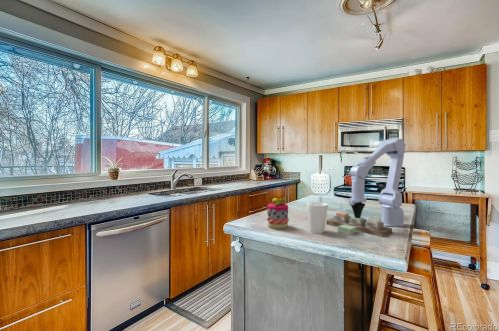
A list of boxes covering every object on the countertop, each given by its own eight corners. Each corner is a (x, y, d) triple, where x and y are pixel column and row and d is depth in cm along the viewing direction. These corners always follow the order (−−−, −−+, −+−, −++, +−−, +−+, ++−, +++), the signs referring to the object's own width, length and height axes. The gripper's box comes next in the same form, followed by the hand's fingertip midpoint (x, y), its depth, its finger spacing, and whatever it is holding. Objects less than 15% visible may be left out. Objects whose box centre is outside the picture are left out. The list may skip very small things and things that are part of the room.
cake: (263, 227, 125) (264, 197, 124) (272, 222, 134) (272, 194, 134) (284, 230, 120) (284, 199, 120) (291, 225, 129) (291, 196, 129)
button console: (392, 232, 117) (392, 222, 117) (383, 236, 111) (383, 226, 111) (336, 220, 138) (336, 212, 138) (326, 224, 132) (326, 215, 132)
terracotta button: (348, 219, 130) (348, 213, 130) (344, 220, 127) (344, 214, 127) (340, 217, 134) (340, 211, 134) (336, 218, 131) (336, 213, 131)
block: (356, 232, 118) (356, 226, 118) (350, 234, 114) (350, 229, 114) (344, 229, 122) (344, 224, 122) (337, 231, 118) (338, 226, 118)
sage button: (363, 223, 124) (364, 217, 124) (359, 225, 121) (359, 219, 121) (355, 222, 128) (355, 216, 128) (350, 223, 125) (351, 217, 125)
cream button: (381, 225, 118) (381, 219, 118) (377, 227, 115) (377, 220, 115) (371, 223, 122) (371, 217, 121) (367, 225, 119) (367, 218, 119)
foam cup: (323, 235, 113) (324, 206, 112) (303, 232, 117) (304, 204, 117) (329, 230, 121) (329, 203, 120) (310, 227, 125) (310, 201, 125)
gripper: (357, 188, 132) (356, 214, 132) (342, 190, 122) (342, 218, 123) (370, 189, 126) (370, 216, 127) (357, 192, 117) (356, 221, 117)
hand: (357, 217), depth 124 cm, fingers closed, pressing on sage button
